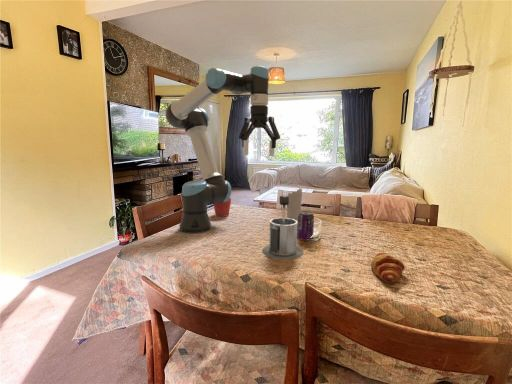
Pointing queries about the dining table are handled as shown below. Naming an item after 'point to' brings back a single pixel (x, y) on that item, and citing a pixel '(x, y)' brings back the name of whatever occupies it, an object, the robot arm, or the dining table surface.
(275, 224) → the faceted metal cup
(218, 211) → the flower pot
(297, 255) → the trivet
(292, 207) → the white tall block
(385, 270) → the croissant
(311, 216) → the beverage can
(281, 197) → the plunger
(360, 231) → the dining table surface
